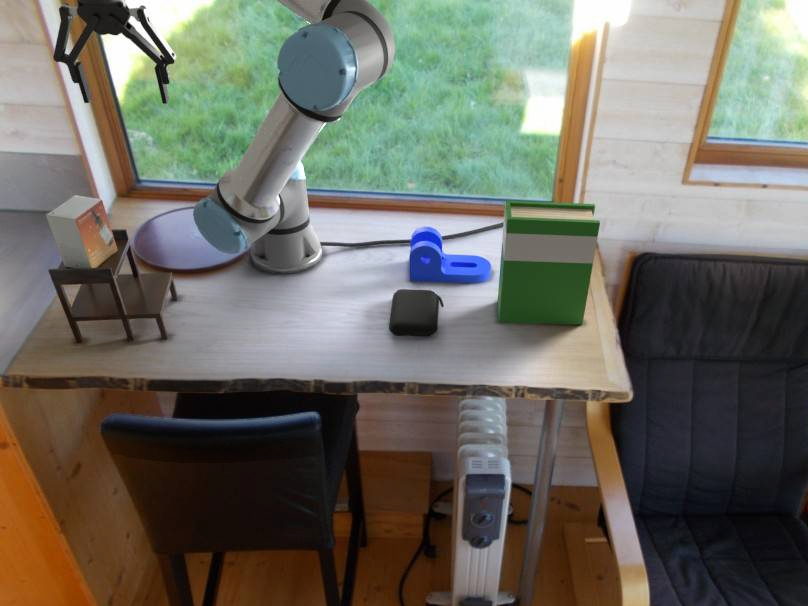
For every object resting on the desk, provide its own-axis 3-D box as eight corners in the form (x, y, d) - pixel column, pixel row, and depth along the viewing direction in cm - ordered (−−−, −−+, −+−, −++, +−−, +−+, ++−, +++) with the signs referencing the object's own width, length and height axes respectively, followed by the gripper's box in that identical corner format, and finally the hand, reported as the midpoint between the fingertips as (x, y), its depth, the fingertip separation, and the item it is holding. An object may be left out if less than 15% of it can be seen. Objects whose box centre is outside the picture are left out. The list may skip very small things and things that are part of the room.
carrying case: (442, 341, 148) (443, 299, 159) (442, 329, 146) (444, 287, 157) (388, 339, 147) (393, 297, 158) (387, 327, 145) (393, 285, 156)
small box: (92, 272, 132) (74, 219, 125) (64, 267, 133) (44, 214, 126) (119, 250, 138) (103, 198, 131) (91, 245, 139) (74, 193, 132)
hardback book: (578, 304, 161) (594, 204, 145) (582, 324, 156) (600, 222, 140) (497, 301, 159) (505, 200, 144) (499, 322, 154) (507, 219, 138)
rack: (178, 297, 152) (160, 228, 141) (167, 339, 142) (146, 267, 131) (94, 300, 149) (69, 230, 138) (76, 343, 139) (48, 270, 128)
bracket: (409, 280, 163) (409, 245, 157) (411, 260, 169) (411, 225, 163) (491, 283, 165) (493, 248, 159) (489, 263, 171) (492, 229, 165)
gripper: (6, -22, 120) (49, 107, 134) (169, -16, 125) (194, 108, 139) (20, -34, 126) (60, 92, 140) (176, -27, 131) (200, 94, 144)
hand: (127, 100), depth 139 cm, fingers open, 13 cm apart
